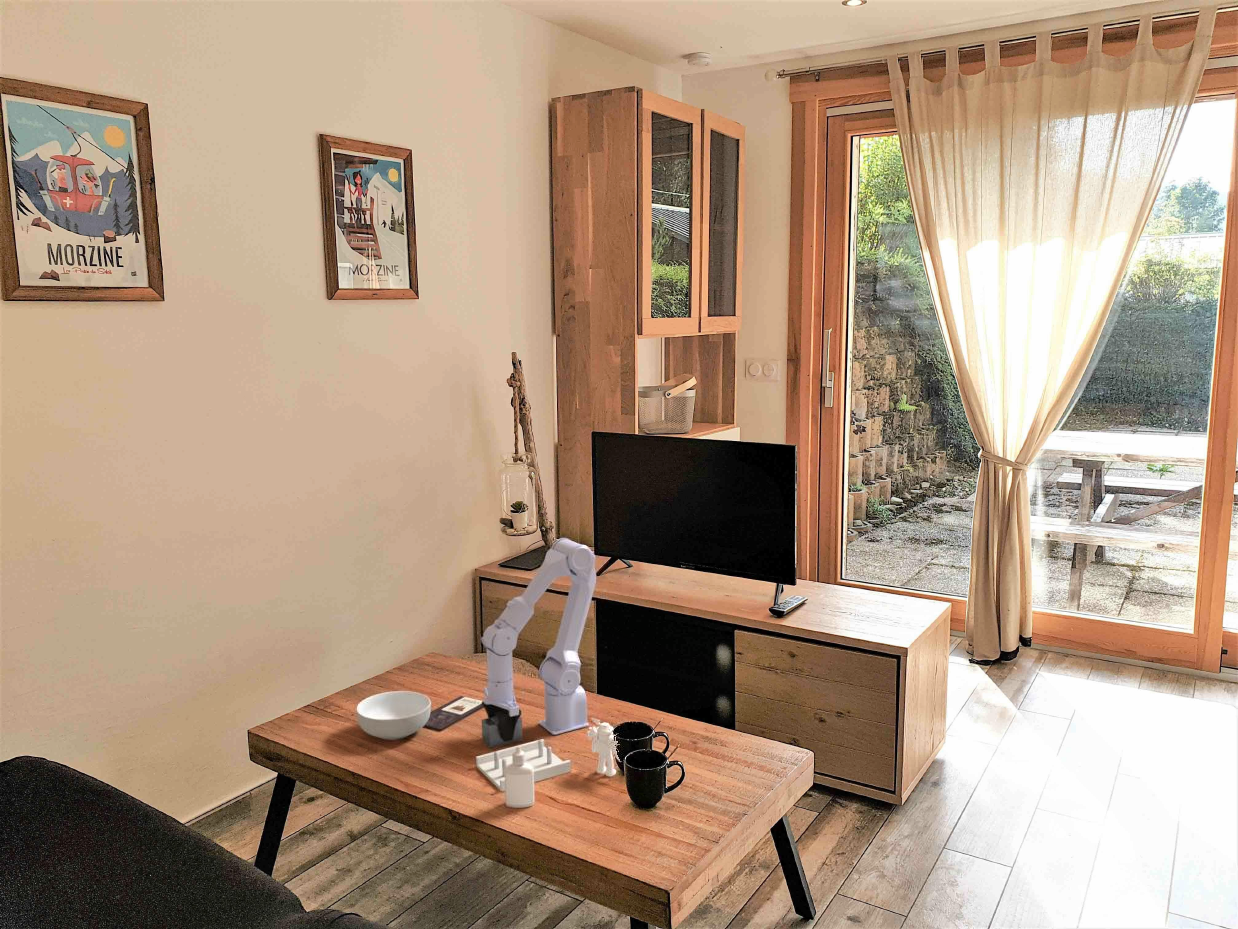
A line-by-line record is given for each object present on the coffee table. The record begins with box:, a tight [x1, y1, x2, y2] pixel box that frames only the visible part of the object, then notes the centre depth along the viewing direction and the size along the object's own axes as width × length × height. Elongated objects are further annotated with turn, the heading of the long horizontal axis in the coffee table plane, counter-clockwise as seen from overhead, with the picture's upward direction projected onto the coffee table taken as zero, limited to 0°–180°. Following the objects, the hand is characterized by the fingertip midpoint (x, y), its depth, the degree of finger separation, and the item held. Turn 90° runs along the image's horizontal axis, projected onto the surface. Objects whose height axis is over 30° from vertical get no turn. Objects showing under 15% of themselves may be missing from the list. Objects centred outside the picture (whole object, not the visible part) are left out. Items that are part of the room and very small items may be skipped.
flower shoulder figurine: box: [586, 717, 621, 777], centre depth 200 cm, size 9×4×12 cm, turn 52°
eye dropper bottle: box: [504, 745, 535, 809], centre depth 187 cm, size 4×6×12 cm
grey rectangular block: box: [481, 716, 523, 750], centre depth 216 cm, size 8×4×6 cm, turn 121°
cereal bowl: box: [355, 690, 432, 741], centre depth 222 cm, size 17×17×7 cm
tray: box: [475, 738, 572, 793], centre depth 203 cm, size 16×13×4 cm
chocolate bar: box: [422, 695, 485, 732], centre depth 232 cm, size 9×1×18 cm
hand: (502, 735), depth 216 cm, fingers open, 5 cm apart
